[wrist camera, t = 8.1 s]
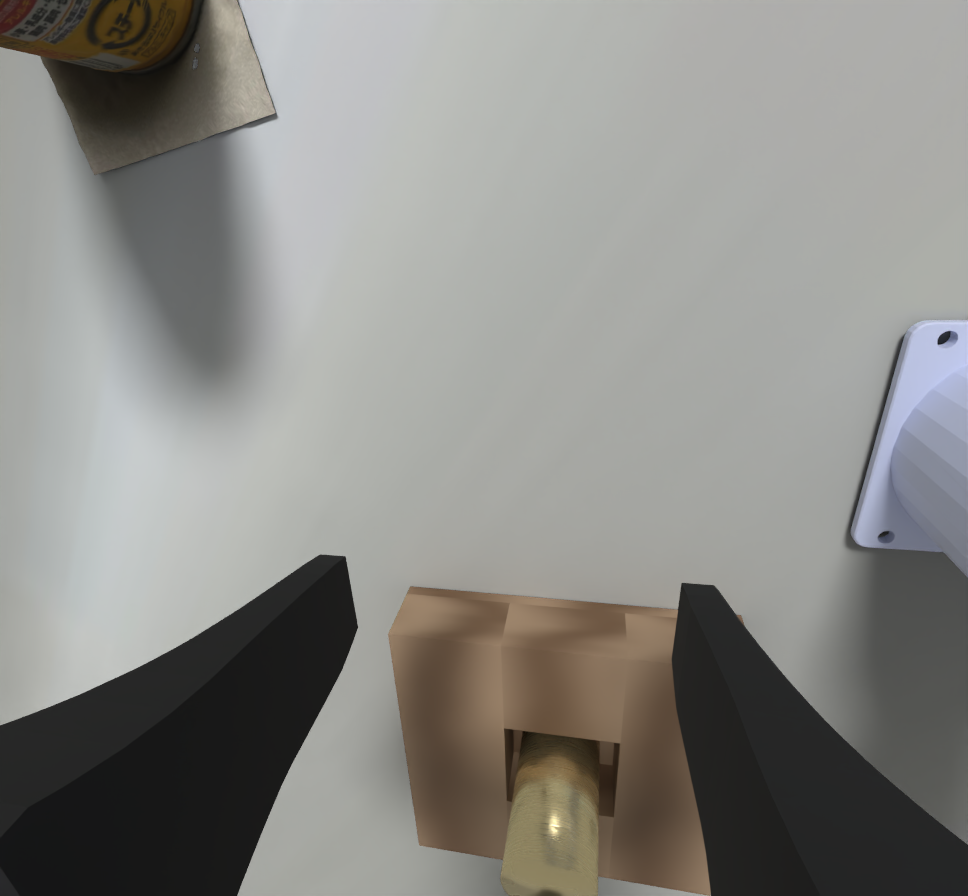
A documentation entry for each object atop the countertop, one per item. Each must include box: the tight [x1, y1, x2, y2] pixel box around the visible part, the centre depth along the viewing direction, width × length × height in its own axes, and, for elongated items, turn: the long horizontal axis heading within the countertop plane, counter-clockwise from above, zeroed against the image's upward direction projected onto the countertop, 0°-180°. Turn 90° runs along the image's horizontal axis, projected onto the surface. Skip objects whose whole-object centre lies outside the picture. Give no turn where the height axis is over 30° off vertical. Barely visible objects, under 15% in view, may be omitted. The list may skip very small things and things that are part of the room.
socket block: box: [388, 587, 744, 896], centre depth 26 cm, size 14×14×3 cm
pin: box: [500, 731, 600, 896], centre depth 23 cm, size 4×4×7 cm
